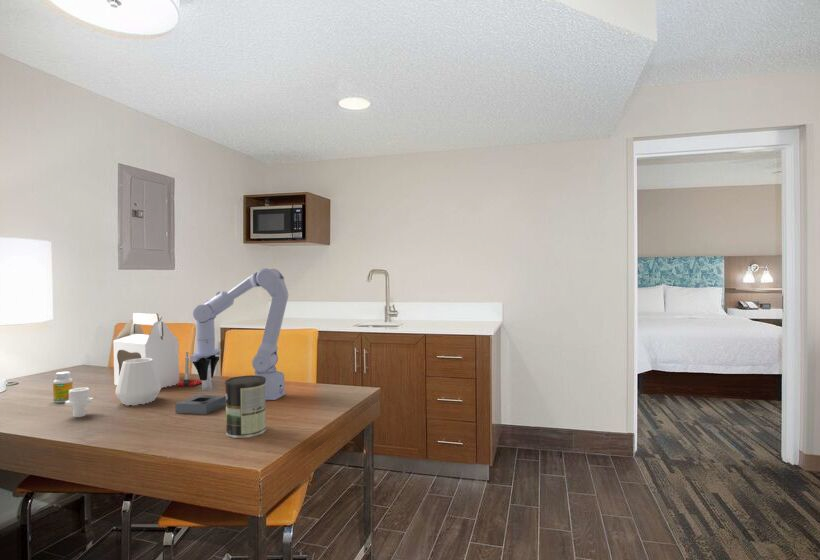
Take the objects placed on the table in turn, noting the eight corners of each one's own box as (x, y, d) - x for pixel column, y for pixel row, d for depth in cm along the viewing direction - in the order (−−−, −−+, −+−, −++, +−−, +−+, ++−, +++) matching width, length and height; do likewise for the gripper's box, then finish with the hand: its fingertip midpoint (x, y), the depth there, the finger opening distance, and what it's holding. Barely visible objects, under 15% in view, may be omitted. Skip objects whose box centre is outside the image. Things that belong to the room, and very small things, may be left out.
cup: (163, 395, 170) (162, 355, 170) (158, 404, 157) (157, 362, 157) (119, 399, 165) (119, 358, 165) (111, 409, 152) (110, 365, 152)
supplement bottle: (54, 404, 160) (53, 375, 159) (53, 400, 164) (52, 372, 164) (73, 401, 163) (73, 372, 163) (72, 398, 167) (71, 370, 167)
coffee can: (220, 439, 123) (219, 384, 122) (232, 426, 133) (231, 375, 133) (261, 437, 123) (260, 383, 123) (270, 425, 133) (269, 374, 133)
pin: (213, 388, 166) (212, 359, 166) (208, 390, 163) (207, 360, 163) (205, 387, 167) (204, 359, 167) (200, 389, 164) (199, 360, 164)
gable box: (180, 384, 187) (178, 312, 186) (146, 391, 175) (145, 315, 175) (147, 378, 198) (145, 311, 198) (113, 385, 187) (112, 313, 186)
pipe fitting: (61, 419, 141) (61, 392, 141) (73, 413, 148) (73, 387, 148) (85, 418, 143) (85, 391, 143) (96, 411, 150) (95, 386, 150)
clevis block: (226, 405, 155) (225, 396, 155) (206, 414, 145) (205, 404, 145) (197, 404, 157) (196, 394, 157) (175, 413, 147) (175, 403, 147)
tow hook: (185, 382, 192) (174, 386, 183) (185, 350, 192) (175, 352, 183) (206, 382, 192) (197, 386, 183) (207, 349, 193) (197, 352, 183)
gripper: (208, 336, 173) (208, 374, 173) (181, 342, 158) (182, 383, 159) (225, 336, 171) (226, 374, 171) (200, 342, 157) (201, 383, 157)
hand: (206, 379), depth 165 cm, fingers closed on pin, 3 cm apart
